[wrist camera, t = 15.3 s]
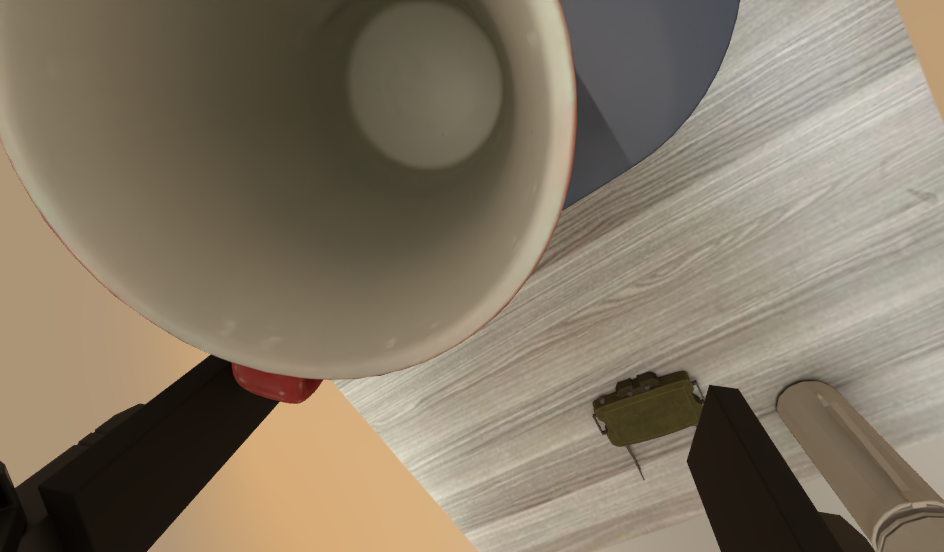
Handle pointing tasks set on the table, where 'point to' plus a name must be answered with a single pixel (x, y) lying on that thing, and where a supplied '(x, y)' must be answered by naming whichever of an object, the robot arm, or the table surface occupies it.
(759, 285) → the table surface
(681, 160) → the table surface
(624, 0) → the x-leg side table
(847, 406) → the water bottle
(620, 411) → the landmine
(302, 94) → the mug
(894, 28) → the table surface
